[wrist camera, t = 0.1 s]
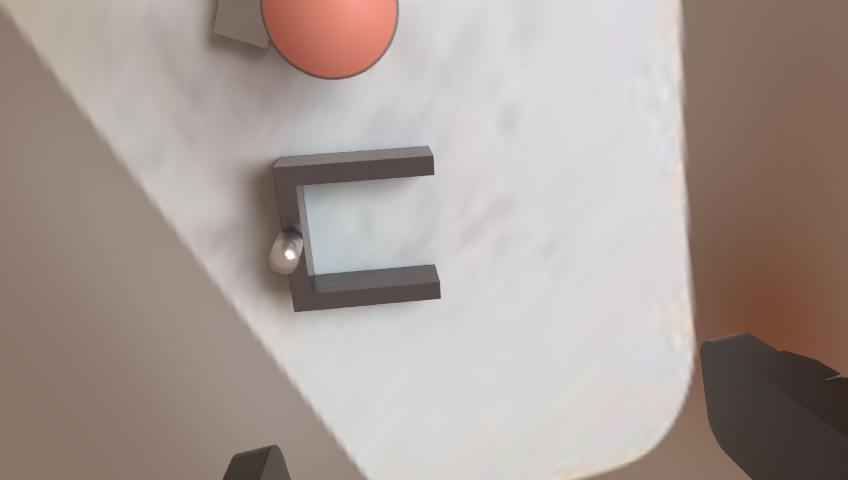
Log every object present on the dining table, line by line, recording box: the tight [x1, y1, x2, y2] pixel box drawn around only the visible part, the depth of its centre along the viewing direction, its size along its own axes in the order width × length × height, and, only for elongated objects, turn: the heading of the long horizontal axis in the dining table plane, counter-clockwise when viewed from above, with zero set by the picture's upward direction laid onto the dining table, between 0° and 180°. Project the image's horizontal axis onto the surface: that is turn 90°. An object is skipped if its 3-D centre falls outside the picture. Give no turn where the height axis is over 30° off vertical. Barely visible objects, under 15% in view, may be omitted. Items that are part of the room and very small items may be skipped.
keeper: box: [268, 146, 441, 312], centre depth 30 cm, size 8×8×5 cm
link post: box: [260, 0, 399, 80], centre depth 23 cm, size 4×4×12 cm
